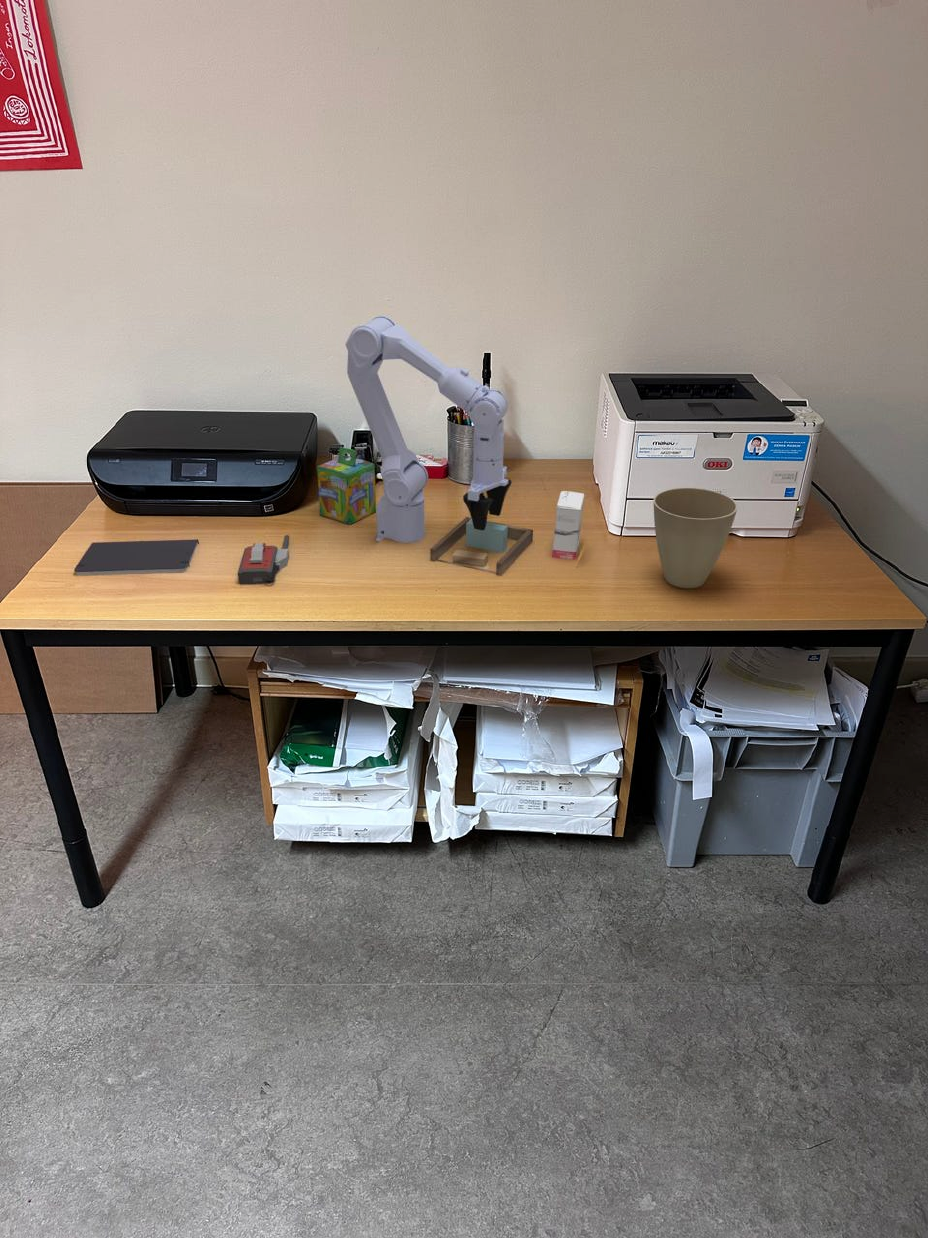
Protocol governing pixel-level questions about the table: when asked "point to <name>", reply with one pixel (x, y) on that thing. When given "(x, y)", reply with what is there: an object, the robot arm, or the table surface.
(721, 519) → the plant pot
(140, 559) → the notebook
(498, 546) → the teal rectangular block
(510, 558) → the rack
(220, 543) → the table surface
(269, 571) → the walkie-talkie
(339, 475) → the chalk box
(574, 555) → the ink box
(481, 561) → the offcut upper
